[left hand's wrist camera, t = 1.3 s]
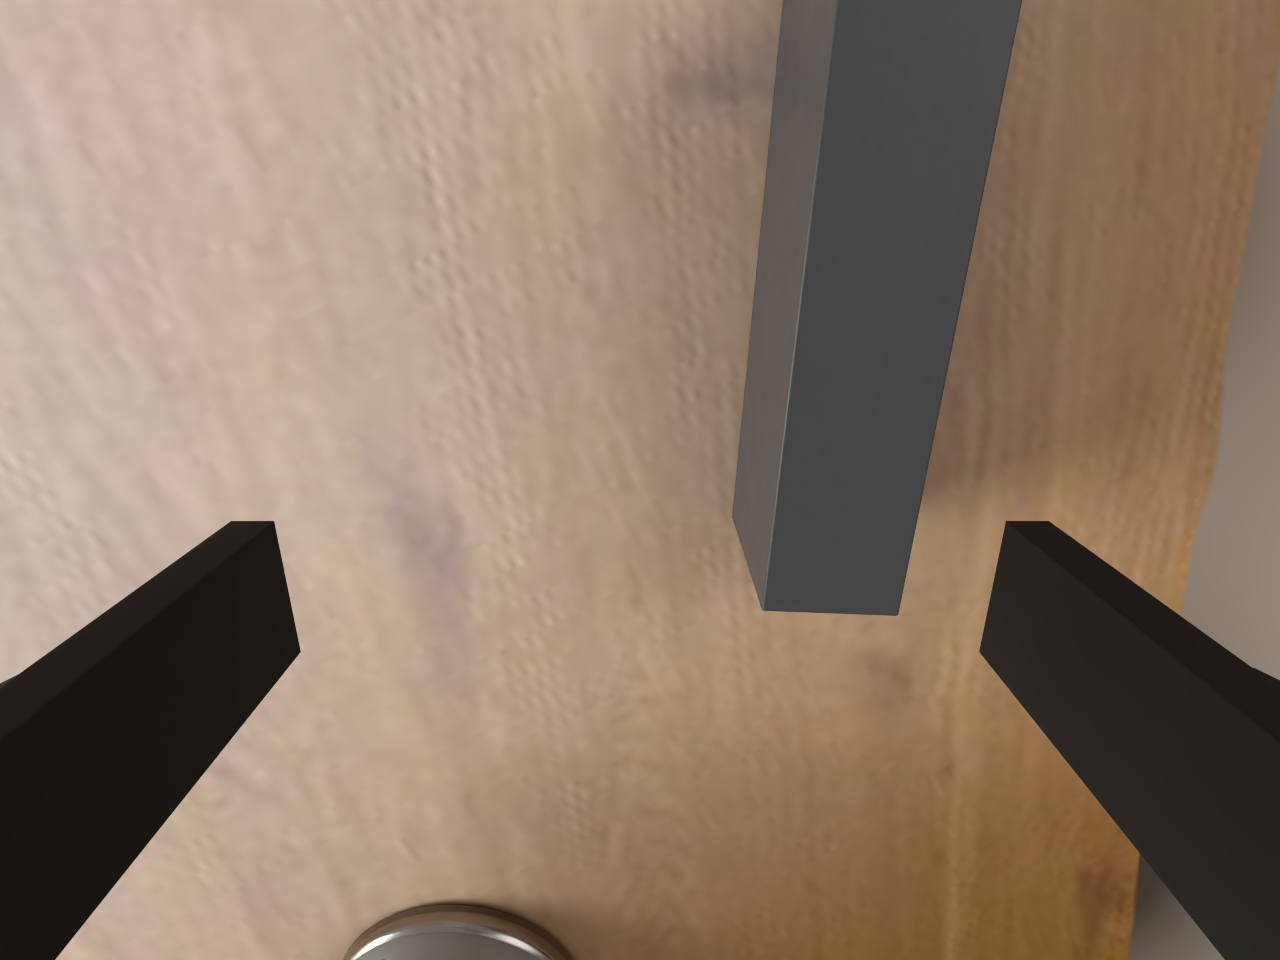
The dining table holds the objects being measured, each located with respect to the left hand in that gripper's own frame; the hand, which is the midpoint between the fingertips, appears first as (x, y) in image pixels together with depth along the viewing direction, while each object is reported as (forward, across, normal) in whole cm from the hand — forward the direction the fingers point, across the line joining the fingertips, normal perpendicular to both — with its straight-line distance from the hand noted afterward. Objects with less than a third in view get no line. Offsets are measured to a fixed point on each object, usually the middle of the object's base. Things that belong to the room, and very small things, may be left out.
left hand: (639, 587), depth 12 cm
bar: (+18, -7, -4) cm, 20 cm away
